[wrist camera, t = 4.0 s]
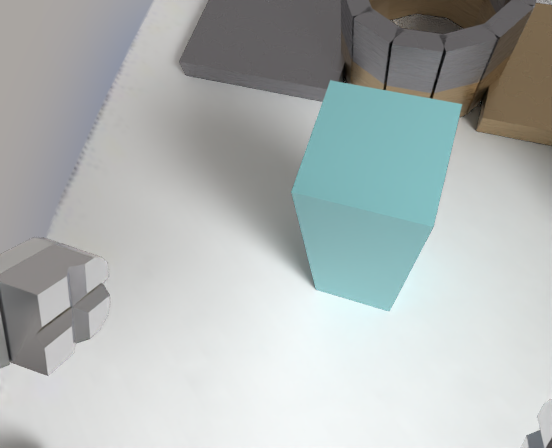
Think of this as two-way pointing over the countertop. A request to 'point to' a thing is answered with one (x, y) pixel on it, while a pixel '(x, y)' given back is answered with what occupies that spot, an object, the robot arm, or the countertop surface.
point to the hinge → (388, 53)
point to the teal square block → (371, 188)
